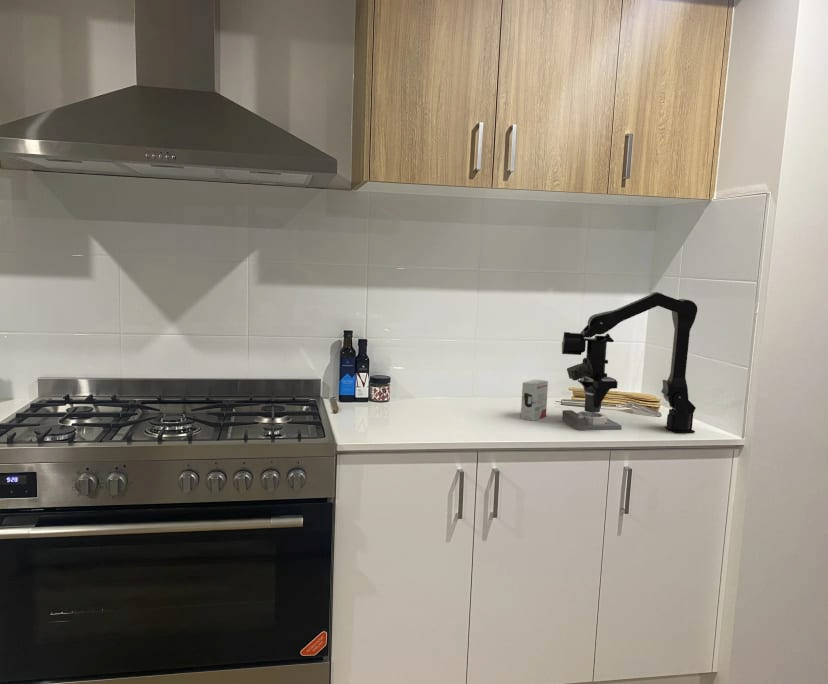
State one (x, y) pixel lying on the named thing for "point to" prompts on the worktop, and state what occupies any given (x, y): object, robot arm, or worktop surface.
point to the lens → (590, 401)
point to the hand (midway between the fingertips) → (592, 405)
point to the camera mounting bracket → (589, 421)
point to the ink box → (534, 399)
